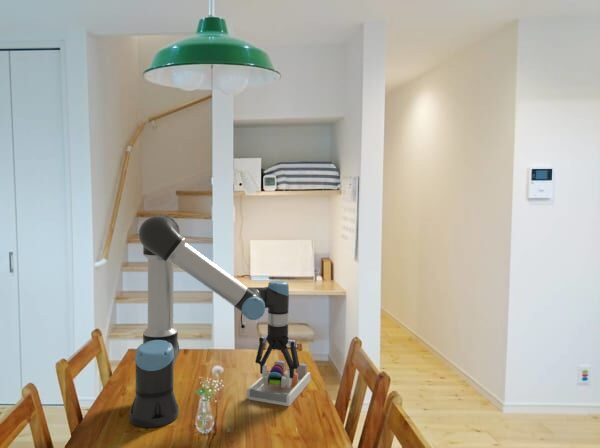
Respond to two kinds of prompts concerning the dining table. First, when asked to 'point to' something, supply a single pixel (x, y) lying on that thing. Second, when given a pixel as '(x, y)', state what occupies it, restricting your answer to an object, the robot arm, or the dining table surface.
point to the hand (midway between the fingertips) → (276, 384)
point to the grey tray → (279, 388)
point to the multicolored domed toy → (276, 376)
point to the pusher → (294, 379)
